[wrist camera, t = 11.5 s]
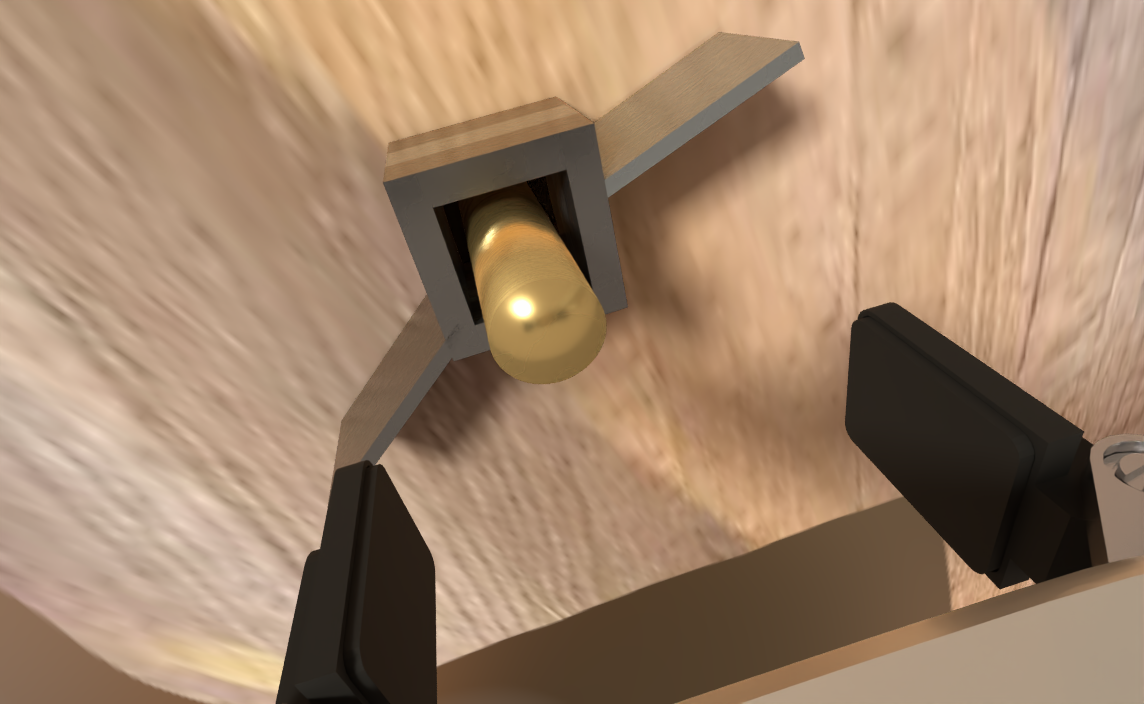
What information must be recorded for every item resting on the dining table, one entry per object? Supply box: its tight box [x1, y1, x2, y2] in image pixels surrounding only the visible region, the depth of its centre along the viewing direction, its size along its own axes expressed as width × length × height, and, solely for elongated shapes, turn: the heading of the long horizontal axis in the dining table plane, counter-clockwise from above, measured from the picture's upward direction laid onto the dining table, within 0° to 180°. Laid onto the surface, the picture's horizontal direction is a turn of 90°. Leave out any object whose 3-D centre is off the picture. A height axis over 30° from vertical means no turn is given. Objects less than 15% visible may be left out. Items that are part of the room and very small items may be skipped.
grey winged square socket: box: [328, 32, 805, 504], centre depth 25 cm, size 21×13×6 cm, turn 102°
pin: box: [459, 181, 606, 384], centre depth 21 cm, size 3×3×12 cm
